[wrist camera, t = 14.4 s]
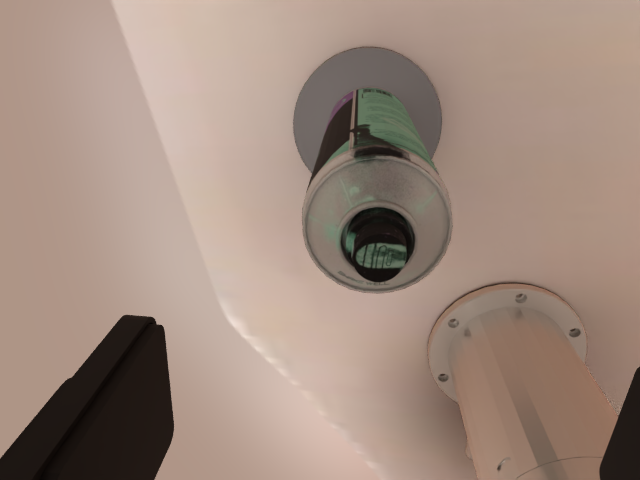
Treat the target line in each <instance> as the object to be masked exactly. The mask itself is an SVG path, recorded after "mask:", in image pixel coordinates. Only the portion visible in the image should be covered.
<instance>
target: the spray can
mask: <svg viewBox="0 0 640 480" xmlns="http://www.w3.org/2000/svg"><path fill="white" fill-rule="evenodd" d="M302 226H303V236H304V241H305V245H306V248H307V250H308V252H309V255H310V257H311V258H312V260H313V261H314V263H315V264H316V266H317V267H318V268H319V269H320V270H321V271H322V272H323V273H324V274H325V275H326V276H327V277H329V278H330V279H332V280H333V281H335V282H336V283H338V284H339V285H342V286H344V287H346V288H349V289H351V290H355V291H359V292H363V293H377V294H378V293H388V292H394V291H397V290H401V289H404V288H407V287H409V286H411V285H413V284H415V283H417V282H419V281H420V280H421V279H423V278H424V277H426V276H427V275H428V274H429V273H430V272H431V271H432V270H433V269H434V268H435V267H436V266H437V265H438V264H439V262H440V261H441V259H442V258H443V256H444V254H445V253H446V250H447V248H448V245H449V242H450V240H451V233H452V227H453V225H452V212H451V203H450V199H449V196H448V192H447V189H446V188H445V186H444V184H443V182H442V180H441V178H440V176H439V174H438V172H437V170H436V168H435V166H434V164H433V162H432V160H431V158H430V156H429V154H428V152H427V150H426V148H425V146H424V144H423V142H422V140H421V138H420V136H419V134H418V132H417V130H416V128H415V126H414V124H413V122H412V120H411V118H410V116H409V114H408V113H407V111H406V109H405V107H404V105H403V104H402V102H401V101H400V100H399V99H398V98H397V97H396V96H395V95H393V94H392V93H391V92H389V91H387V90H385V89H382V88H378V87H368V86H367V87H361V88H357V89H355V90H352V91H350V92H349V93H347V94H346V95H344V96H343V97H342V98H341V99H340V100H339V101H338V102H337V104H336V105H335V106H334V108H333V110H332V112H331V114H330V117H329V120H328V124H327V127H326V130H325V133H324V137H323V140H322V143H321V146H320V150H319V153H318V156H317V160H316V163H315V166H314V169H313V173H312V176H311V179H310V182H309V186H308V189H307V192H306V196H305V200H304V204H303V208H302Z"/></svg>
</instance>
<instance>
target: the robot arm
mask: <svg viewBox="0 0 640 480" xmlns="http://www.w3.org/2000/svg"><path fill="white" fill-rule="evenodd" d="M518 294H519V295H518ZM586 354H587V336H586V333H585V329H584V326H583V324H582V323H581V321H580V319H579V318H578V316H577V314H576V313H575V312H574V311H573V309H572V308H571V307H570V306H569V304H567V303H566V302H565V301H564V300H562V299H561V298H560V297H559V296H557V295H555V294H553V293H551V292H549V291H547V290H545V289H542V288H539V287H535V286H532V285H525V284H499V285H494V286H490V287H485V288H482V289H480V290H477V291H474V292H472V293H469V294H468V295H466V296H464V297H463V298H461V299H459V300H457V301H456V302H455V303H454V304H453V305H451V306H450V307H449V308H448V309H447V310H446V311H445V312H444V313H443V314H442V316H441V317H440V318H439V319H438V320H437V322H436V324H435V326H434V328H433V330H432V332H431V335H430V339H429V342H428V360H429V366H430V369H431V372H432V376H433V378H434V380H435V381H436V383H437V385H438V386H439V388H440V389H441V390H442V391H443V392H444V393H445V394H446V395H447V396H448V397H449V398H451V399H452V400H453V401H455V402H456V403H458V404H459V408H460V412H461V415H462V419H463V423H464V427H465V431H466V435H467V443H466V448H465V453H466V455H467V457H468V458H469V459H471V460H472V461H473V463H474V467H475V471H476V475H477V478H478V480H640V367H639V368H638V369H637V370H636V372H635V375H634V377H633V380H632V383H631V385H630V388H629V391H628V393H627V396H626V399H625V401H624V404H623V406H622V409H621V412H620V414H619V417H618V415H617V414H616V412H615V411H614V409H613V408H612V406H611V405H610V403H609V402H608V400H607V398H606V397H605V395H604V394H603V392H602V391H601V389H600V388H599V386H598V385H597V383H596V381H595V380H594V378H593V377H592V375H591V374H590V372H589V371H588V369H587V368H586V366H585V364H584V363H585V359H586ZM173 431H174V421H173V411H172V401H171V391H170V381H169V371H168V361H167V352H166V341H165V332H164V328H163V326H162V325H156V321H155V319H154V318H153V317H146V316H133V315H124V316H123V317H121V319H120V320H119V321H118V322H117V323H116V324H115V326H114V327H113V328H112V329H111V331H110V332H109V333H108V334H107V335H106V337H105V338H104V339H103V340H102V342H101V343H100V344H99V345H98V346H97V348H96V349H95V350H94V351H93V353H92V354H91V355H90V356H89V357H88V359H87V360H86V361H85V362H84V363H83V365H82V366H81V367H80V368H79V370H78V371H77V372H76V373H75V375H74V376H73V377H72V378H69V379H67V380H66V381H65V382H64V383H63V384H62V385H61V386H60V387H59V389H58V390H57V391H56V392H55V393H54V395H53V396H52V397H51V398H50V399H49V401H48V402H47V403H46V404H45V405H44V407H43V408H42V409H41V410H40V412H39V413H38V414H37V415H36V416H35V417H34V419H33V420H32V421H31V422H30V423H29V425H28V426H27V427H26V428H25V430H24V431H23V432H22V433H21V434H20V435H19V437H18V438H17V439H16V440H15V442H14V443H13V444H12V445H11V446H10V448H9V449H8V450H7V451H6V452H5V454H4V455H3V456H2V457H1V459H0V480H154V479H155V477H156V474H157V472H158V470H159V468H160V466H161V464H162V461H163V459H164V457H165V455H166V453H167V450H168V448H169V446H170V444H171V441H172V437H173Z"/></svg>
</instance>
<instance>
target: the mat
mask: <svg viewBox="0 0 640 480" xmlns="http://www.w3.org/2000/svg"><path fill="white" fill-rule="evenodd" d="M367 86H368V87H378V88H382V89H385V90H387V91H389V92H391V93H392V94H393V95H395V96H396V97H397V98H398V99H399V100H400V101H401V102H402V104H403V105H404V107H405V109H406V111H407V113H408V114H409V116H410V118H411V120H412V122H413V124H414V126H415V128H416V130H417V132H418V134H419V136H420V138H421V140H422V142H423V144H424V146H425V148H426V150H427V152H428V154H429V156H430V158H431V159H432V157H433V155H434V153H435V151H436V148H437V145H438V143H439V139H440V134H441V126H442V116H441V108H440V102H439V99H438V96H437V93H436V91H435V89H434V87H433V85H432V83H431V82H430V80H429V79H428V77H427V76H426V75H425V74H424V72H423V71H422V70H421V69H420V68H419V67H418V66H416V65H415V64H414V63H413V62H412V61H410V60H409V59H408V58H406V57H404V56H403V55H401V54H399V53H396V52H394V51H391V50H388V49H384V48H378V47H360V48H354V49H350V50H347V51H344V52H341V53H339V54H337V55H335V56H333V57H332V58H330V59H328V60H327V61H325V62H324V63H323V64H322V65H321V66H320V67H318V69H317V70H316V71H315V72H314V73H313V74H312V75H311V76H310V78H309V79H308V80H307V82H306V83H305V85H304V87H303V88H302V90H301V92H300V94H299V97H298V100H297V103H296V107H295V111H294V120H293V128H294V137H295V142H296V146H297V149H298V152H299V154H300V156H301V158H302V160H303V162H304V163H305V165H306V166H307V168H308V169H309V170H310V172H311V173H313V169H314V166H315V163H316V160H317V156H318V153H319V150H320V146H321V143H322V140H323V137H324V133H325V130H326V127H327V124H328V120H329V117H330V114H331V112H332V110H333V108H334V106H335V105H336V104H337V102H338V101H339V100H340V99H341V98H342V97H343V96H344V95H346V94H347V93H349V92H350V91H352V90H355V89H357V88H361V87H367Z"/></svg>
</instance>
